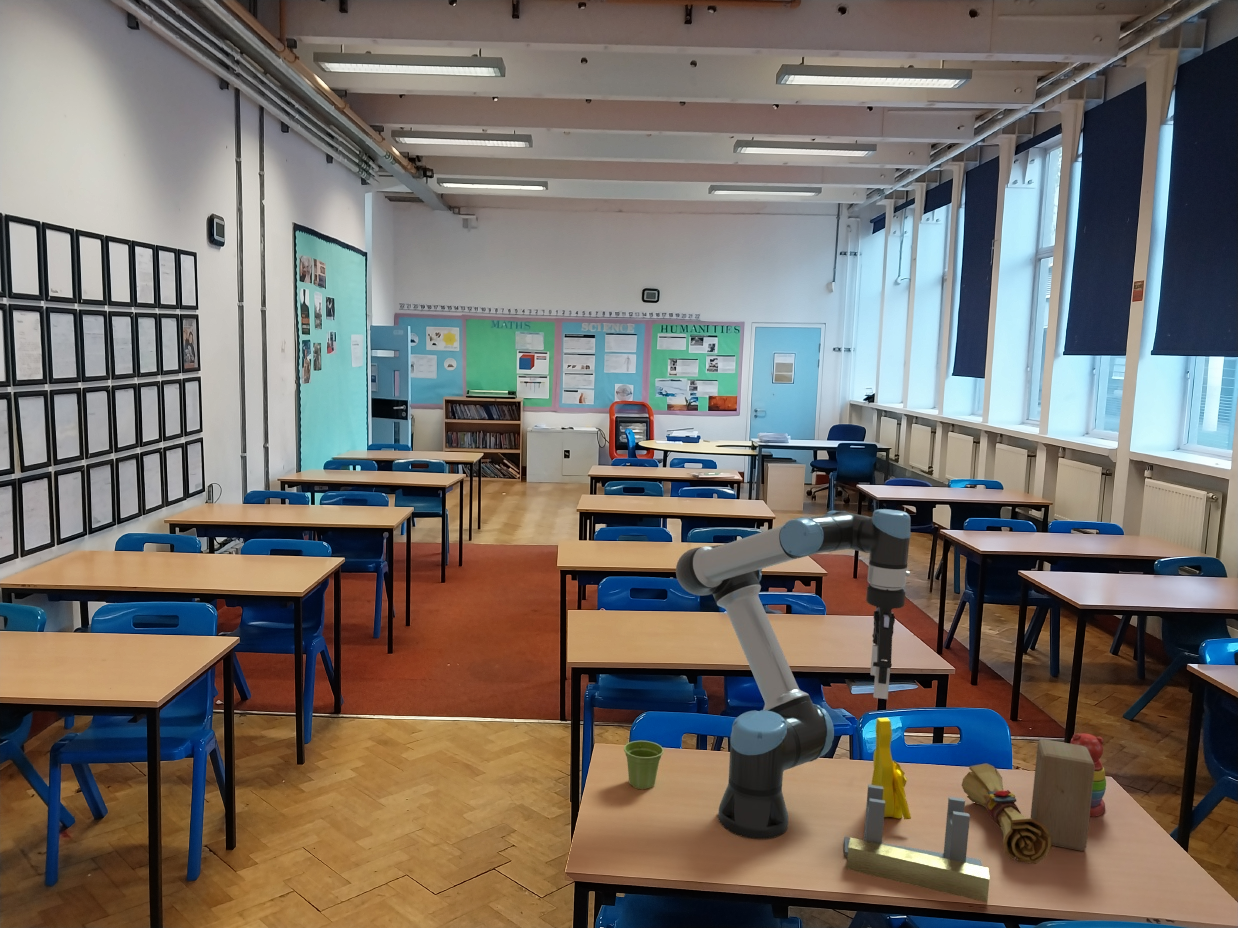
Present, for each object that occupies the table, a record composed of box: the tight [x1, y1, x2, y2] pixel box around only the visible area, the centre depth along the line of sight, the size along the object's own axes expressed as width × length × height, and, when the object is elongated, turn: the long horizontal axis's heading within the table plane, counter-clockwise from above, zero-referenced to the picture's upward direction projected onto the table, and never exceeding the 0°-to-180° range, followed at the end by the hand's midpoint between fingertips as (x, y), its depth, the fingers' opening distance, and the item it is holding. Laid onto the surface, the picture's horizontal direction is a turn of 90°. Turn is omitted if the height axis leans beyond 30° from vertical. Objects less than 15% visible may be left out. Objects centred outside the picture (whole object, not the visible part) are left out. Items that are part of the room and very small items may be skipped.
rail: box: [846, 837, 990, 903], centre depth 167 cm, size 26×4×5 cm, turn 69°
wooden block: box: [1030, 738, 1095, 852], centre depth 185 cm, size 10×10×20 cm
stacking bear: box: [1069, 732, 1107, 818], centre depth 200 cm, size 11×10×18 cm
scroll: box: [961, 763, 1052, 864], centre depth 187 cm, size 27×10×10 cm, turn 177°
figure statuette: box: [870, 717, 912, 820], centre depth 193 cm, size 18×8×22 cm, turn 2°
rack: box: [843, 784, 984, 867], centre depth 174 cm, size 27×7×13 cm, turn 76°
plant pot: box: [623, 740, 665, 790], centre depth 202 cm, size 9×9×9 cm
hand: (878, 686), depth 176 cm, fingers open, 13 cm apart
